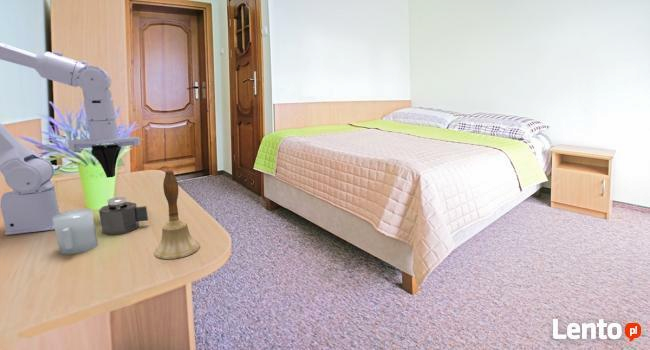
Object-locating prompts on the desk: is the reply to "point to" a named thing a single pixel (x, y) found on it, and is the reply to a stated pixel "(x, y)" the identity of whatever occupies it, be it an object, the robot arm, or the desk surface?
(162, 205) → the desk surface
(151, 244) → the desk surface
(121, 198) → the grey flared round piece
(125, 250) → the desk surface
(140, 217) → the grey octagonal pot
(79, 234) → the white dome with tab
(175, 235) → the hand bell
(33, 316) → the desk surface
